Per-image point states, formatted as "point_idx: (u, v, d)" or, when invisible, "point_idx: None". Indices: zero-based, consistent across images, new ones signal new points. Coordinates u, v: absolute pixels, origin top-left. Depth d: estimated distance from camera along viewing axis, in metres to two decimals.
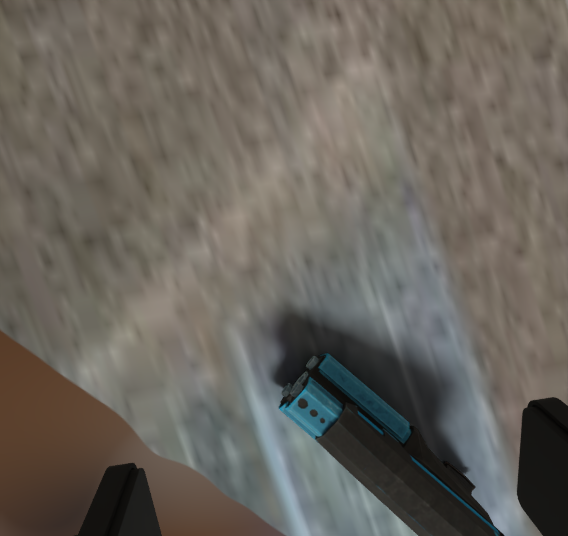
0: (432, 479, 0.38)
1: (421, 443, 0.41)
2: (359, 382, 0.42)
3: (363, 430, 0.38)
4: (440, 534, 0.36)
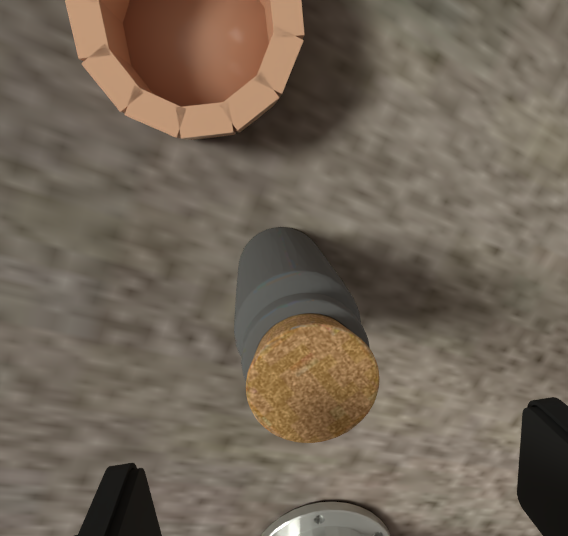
0: None
1: None
2: None
3: None
4: None
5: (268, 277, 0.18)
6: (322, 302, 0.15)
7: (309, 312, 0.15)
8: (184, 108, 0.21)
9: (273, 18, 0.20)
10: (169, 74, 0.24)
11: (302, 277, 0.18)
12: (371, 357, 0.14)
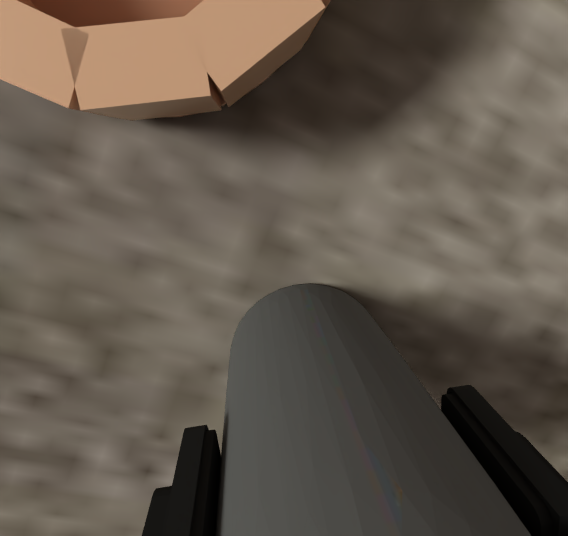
0: None
1: None
2: None
3: None
4: None
5: None
6: None
7: None
8: (84, 32, 0.08)
9: None
10: None
11: None
12: None
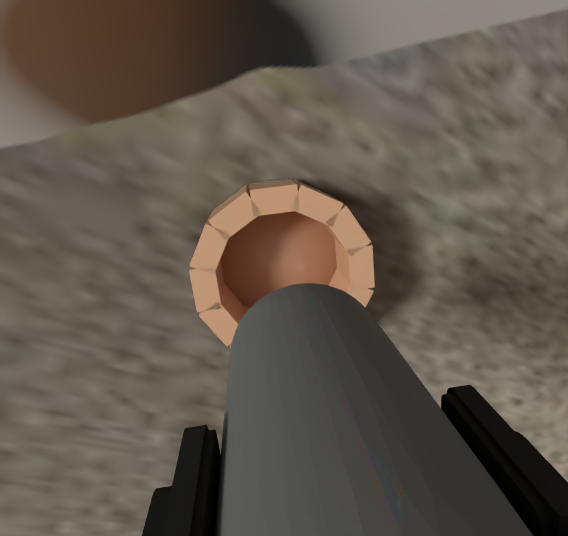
0: None
1: None
2: None
3: None
4: None
5: None
6: None
7: None
8: None
9: (350, 277, 0.25)
10: (254, 288, 0.29)
11: None
12: None
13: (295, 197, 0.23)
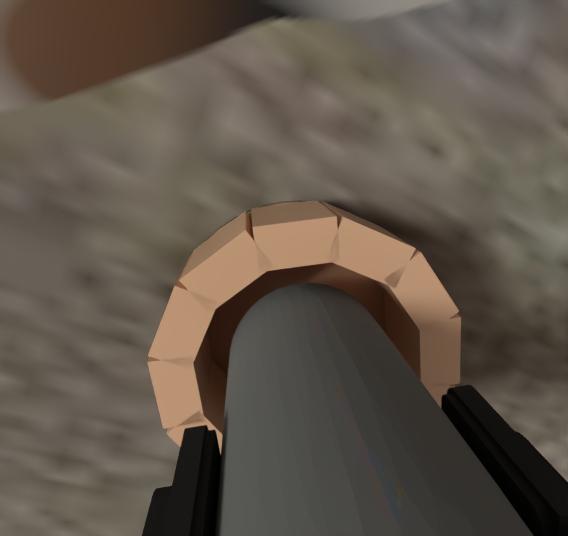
0: None
1: None
2: None
3: None
4: None
5: None
6: None
7: None
8: None
9: (422, 368, 0.15)
10: None
11: None
12: None
13: (332, 239, 0.13)
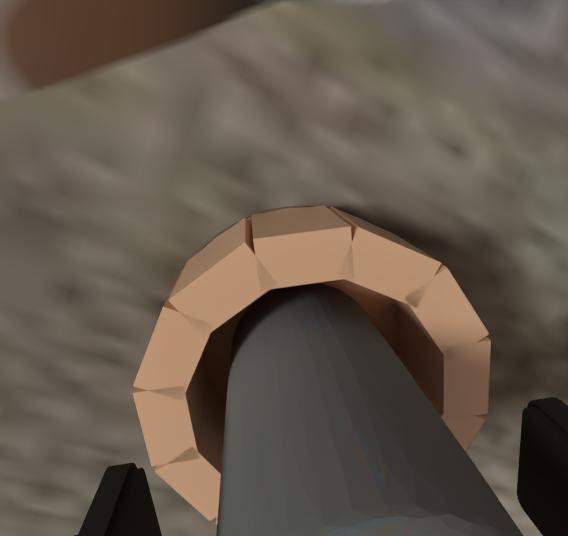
0: None
1: None
2: None
3: None
4: None
5: (307, 526, 0.06)
6: None
7: None
8: None
9: (445, 397, 0.13)
10: None
11: None
12: None
13: (345, 253, 0.11)
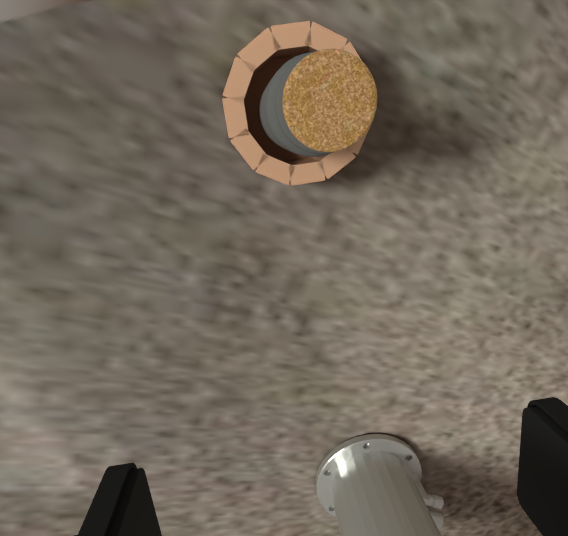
0: None
1: None
2: None
3: None
4: None
5: (291, 59, 0.23)
6: None
7: None
8: (294, 166, 0.32)
9: None
10: None
11: None
12: (371, 77, 0.20)
13: (307, 33, 0.29)
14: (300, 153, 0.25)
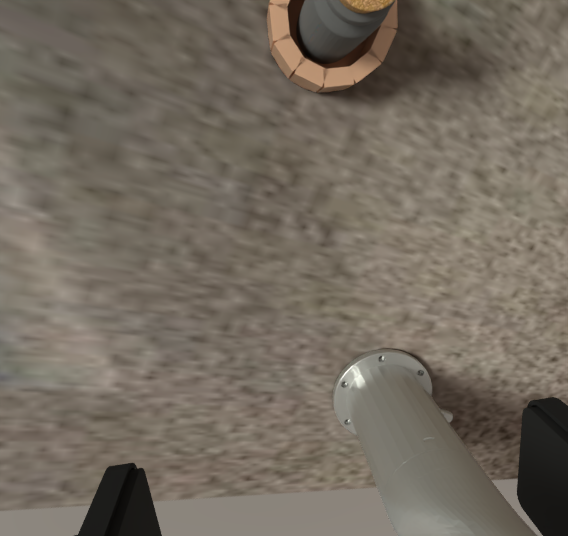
0: None
1: None
2: None
3: None
4: None
5: None
6: None
7: None
8: (327, 69, 0.36)
9: None
10: None
11: None
12: None
13: None
14: (339, 33, 0.30)
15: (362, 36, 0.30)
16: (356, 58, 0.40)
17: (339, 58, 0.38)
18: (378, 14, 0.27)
